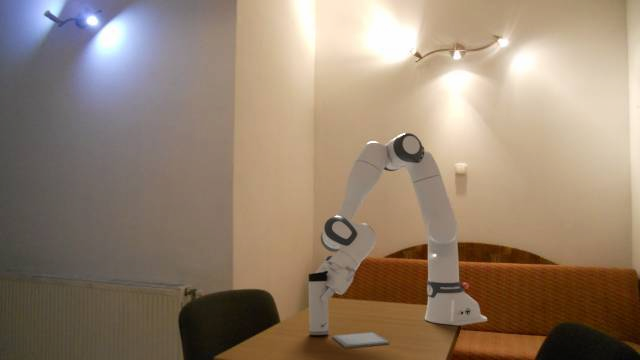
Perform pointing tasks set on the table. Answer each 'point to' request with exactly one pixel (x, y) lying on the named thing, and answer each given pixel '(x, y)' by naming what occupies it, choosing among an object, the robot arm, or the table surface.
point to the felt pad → (359, 340)
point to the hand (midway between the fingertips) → (316, 298)
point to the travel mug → (318, 304)
